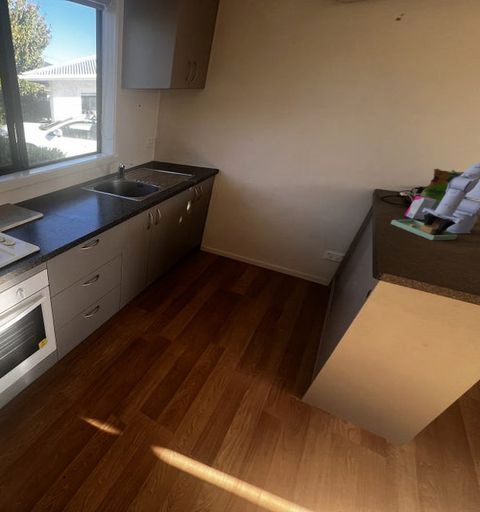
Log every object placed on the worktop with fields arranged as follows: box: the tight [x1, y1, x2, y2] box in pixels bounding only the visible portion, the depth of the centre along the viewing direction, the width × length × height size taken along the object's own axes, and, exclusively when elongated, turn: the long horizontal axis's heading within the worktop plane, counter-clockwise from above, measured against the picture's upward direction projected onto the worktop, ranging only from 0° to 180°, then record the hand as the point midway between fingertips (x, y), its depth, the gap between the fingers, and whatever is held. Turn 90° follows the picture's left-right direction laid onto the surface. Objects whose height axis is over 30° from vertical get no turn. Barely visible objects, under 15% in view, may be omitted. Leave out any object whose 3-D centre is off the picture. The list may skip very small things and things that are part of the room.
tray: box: [390, 219, 459, 241], centre depth 140 cm, size 12×19×2 cm, turn 6°
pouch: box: [419, 168, 465, 210], centre depth 153 cm, size 11×12×25 cm
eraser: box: [420, 224, 447, 235], centre depth 136 cm, size 8×4×4 cm, turn 96°
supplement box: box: [404, 195, 436, 221], centre depth 153 cm, size 6×6×12 cm
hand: (431, 231), depth 136 cm, fingers closed on eraser, 4 cm apart
